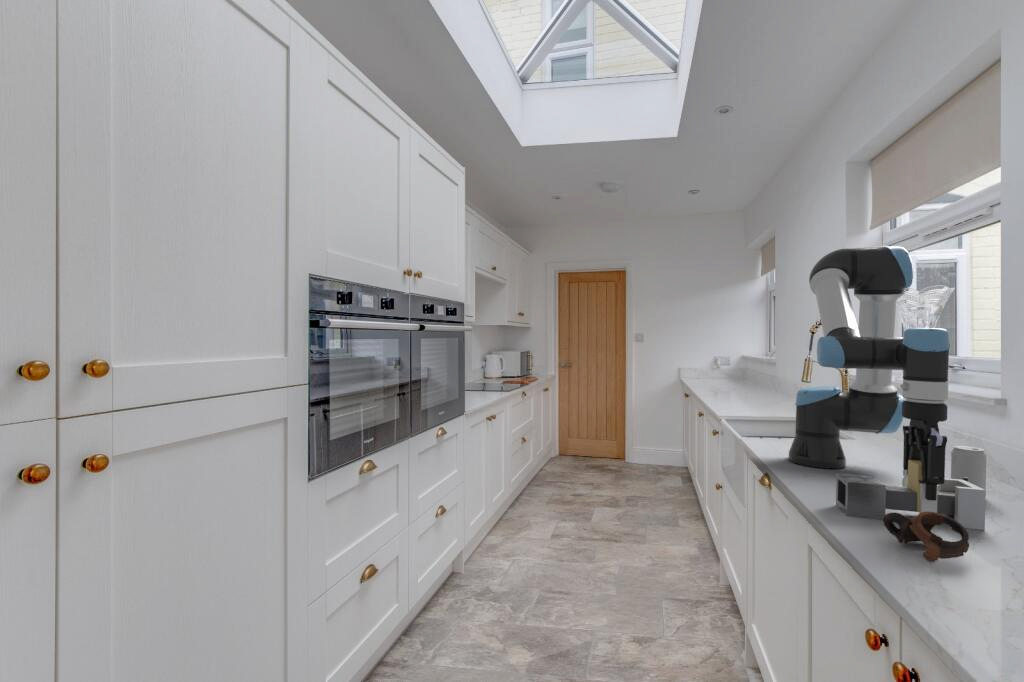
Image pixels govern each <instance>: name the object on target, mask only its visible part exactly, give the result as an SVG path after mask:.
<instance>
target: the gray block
mask: <svg viewBox="0 0 1024 682" xmlns="http://www.w3.org/2000/svg"><path fill="white" fill-rule="evenodd" d="M835 481H836V484H835V506H836V505H837V506H838V507H839V508H840V509H839V508H838V507H837V506H836V507H837V508H838V509H839V510H840V511H841V510H842V511H843V514H844V515H846V516H847V517H853V516H854V518H862V519H863V518H865V519H866V518H867V519H873V518H874V520H883V518H884V517H885V516H886V509H885V508H886V486H887V485H886V484H885V483H884V482H882V481H881V480H879V479H878V478H877V477H874V476H872V475H862V474H852V473H851V474H850V473H837V472H836V480H835ZM842 511H841V512H842Z"/></svg>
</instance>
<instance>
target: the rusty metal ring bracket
mask: <svg viewBox="0 0 1024 682" xmlns="http://www.w3.org/2000/svg"><path fill="white" fill-rule="evenodd" d="M882 522H883V524H884V527H885V529H887V531H888V532H889V533H890V534H891V535H892V536H893V537H895V538H896V540H897V542H898V543H900V544H904V543H905V545H907V544H909V543H914V542H921V543H923V544H924V545H925V546H926V548H925V550H924V551H923V553H922V558H923V559H925V560H927V561H928V562H930V563H934V562H936V561H938V559H941V560H944V559H953V558H959V557H963V556H965V554H966V553H967V552H968V550H969V547H970V542H969V539H970V538H969V537H970V536H969V533H968V531H967V529H966V528H964V527H963V526H962V525H961V524H960V523H958V522H957V521H955V520H954V519H952V518H950V517H948V516H945V515H942V514H940V513H936V512H922V513H918V514H917V515H914V516H913V517H907V516H905V515H903V514H901V513H898V512H889V513H885V517H884V518H883V519H882ZM944 523H945V524H946V525H948V526H949V527H950V528H951V530H952V531H953V532H955V533H958V534H959V535H960V537H961V539H960V540H956V541H948V540H944V539H943V537H941V536H938V535H936V534H935V533H934V532H932V531H931V530H932V529H933V528H934V526H941V525H943V524H944ZM895 524H897V525H898V527H899V528H898V527H897V526H896V525H895Z"/></svg>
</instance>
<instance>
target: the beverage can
mask: <svg viewBox="0 0 1024 682" xmlns="http://www.w3.org/2000/svg"><path fill="white" fill-rule="evenodd" d="M952 447H953V449H952V450H951V451H950V453H951V454H950V479H960V480H962V477H966V478H968V482H969V483H971V484H973V485H976V486H978V487H980V488H982V489H984V490H987V453H985V449H983V448H981V447H976V446H967V445H953V446H952ZM986 496H987V495H985V498H986Z"/></svg>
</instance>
